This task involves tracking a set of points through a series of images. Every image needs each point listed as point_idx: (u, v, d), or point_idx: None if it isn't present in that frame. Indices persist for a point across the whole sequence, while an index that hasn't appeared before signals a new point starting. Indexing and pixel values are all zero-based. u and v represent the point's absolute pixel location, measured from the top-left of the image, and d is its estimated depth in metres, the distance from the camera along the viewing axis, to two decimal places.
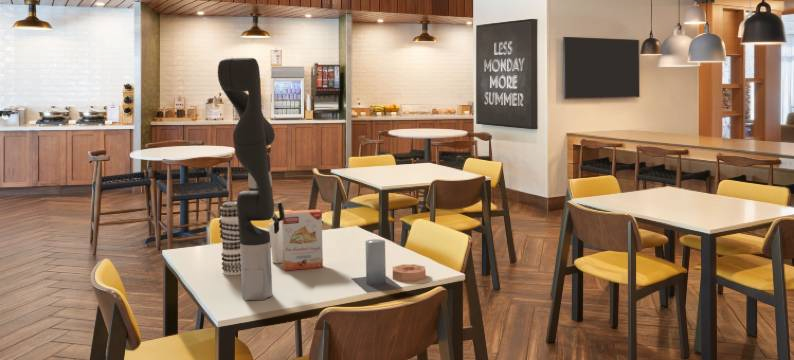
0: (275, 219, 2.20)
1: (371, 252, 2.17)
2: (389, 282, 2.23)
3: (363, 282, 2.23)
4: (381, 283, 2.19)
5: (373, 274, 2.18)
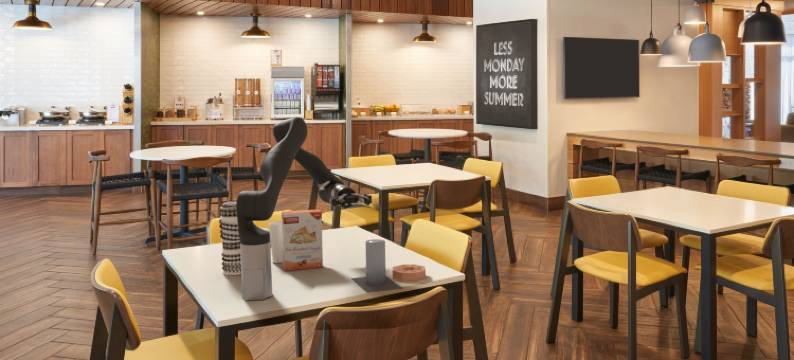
0: (364, 196, 2.37)
1: (371, 252, 2.17)
2: (389, 282, 2.23)
3: (363, 282, 2.23)
4: (381, 283, 2.19)
5: (373, 274, 2.18)
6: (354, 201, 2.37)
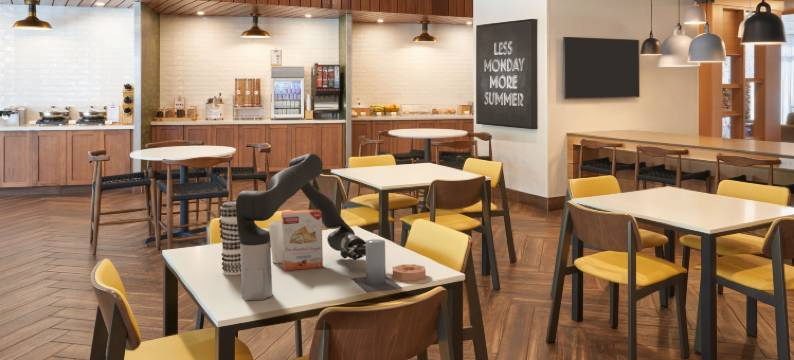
0: None
1: (371, 252, 2.17)
2: (389, 282, 2.23)
3: (363, 282, 2.23)
4: (381, 283, 2.19)
5: (373, 274, 2.18)
6: (365, 253, 2.34)
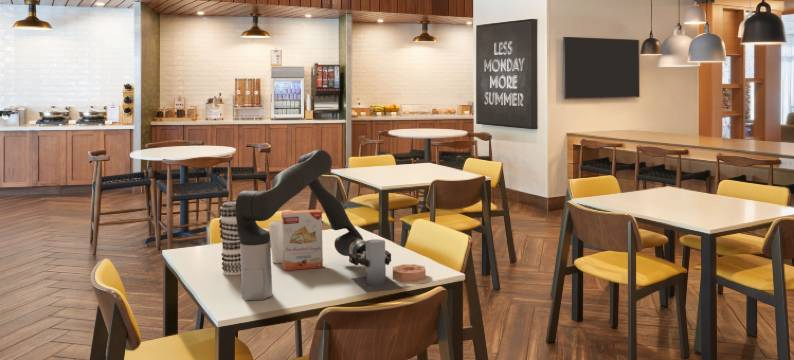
0: None
1: (371, 252, 2.17)
2: (389, 282, 2.23)
3: (363, 282, 2.23)
4: (381, 283, 2.19)
5: (373, 274, 2.18)
6: None
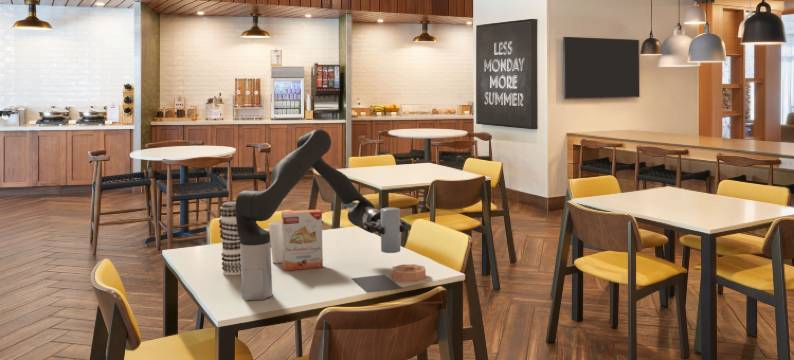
0: None
1: (386, 219, 2.20)
2: (389, 282, 2.23)
3: (363, 282, 2.23)
4: (396, 250, 2.22)
5: (388, 241, 2.21)
6: None
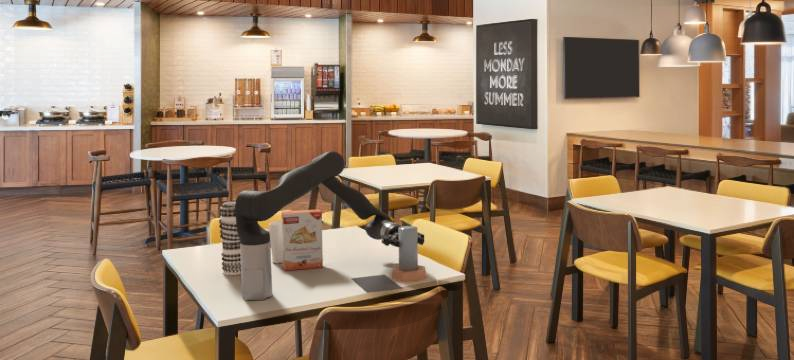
0: None
1: (404, 238, 2.24)
2: (389, 282, 2.23)
3: (363, 282, 2.23)
4: (414, 268, 2.26)
5: (406, 259, 2.25)
6: None
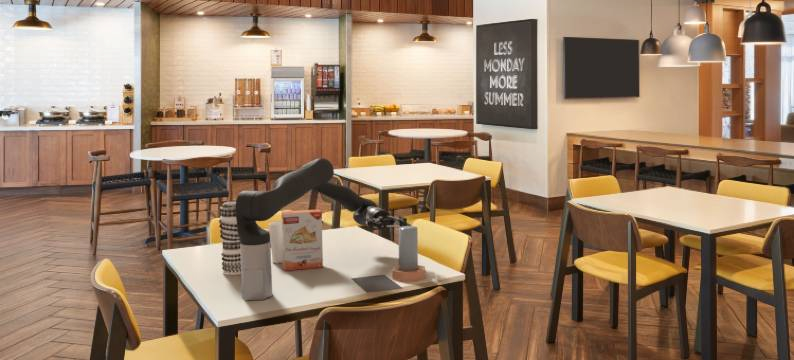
0: (400, 218, 2.43)
1: (404, 238, 2.24)
2: (389, 282, 2.23)
3: (363, 282, 2.23)
4: (414, 268, 2.26)
5: (406, 259, 2.25)
6: (390, 223, 2.43)
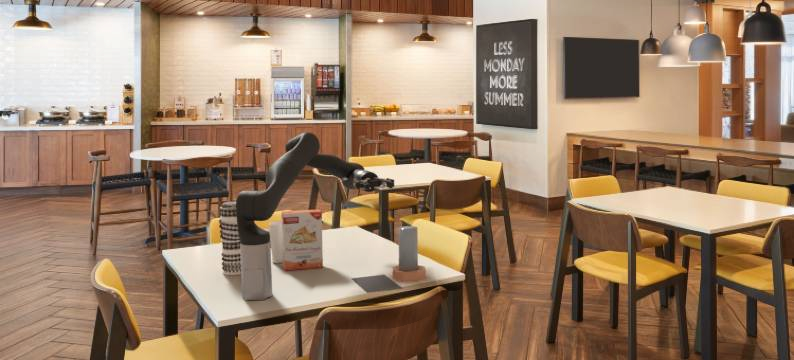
0: (387, 180, 2.44)
1: (404, 238, 2.24)
2: (389, 282, 2.23)
3: (363, 282, 2.23)
4: (414, 268, 2.26)
5: (406, 259, 2.25)
6: (377, 185, 2.44)
